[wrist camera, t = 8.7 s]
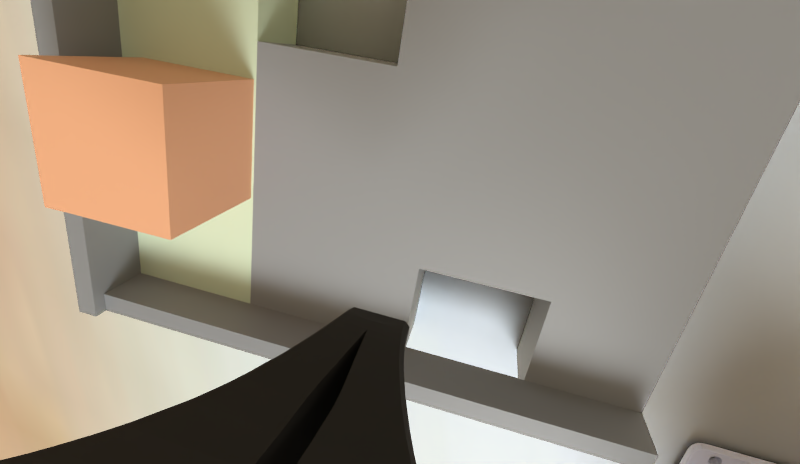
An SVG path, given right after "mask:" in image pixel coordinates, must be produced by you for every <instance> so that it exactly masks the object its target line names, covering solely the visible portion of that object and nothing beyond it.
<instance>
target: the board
mask: <svg viewBox="0 0 800 464" xmlns="http://www.w3.org/2000/svg"><path fill="white" fill-rule="evenodd" d="M298 2H299V0H31V7H32V13H33V19H34V26H35V32H36V39H37V45H38V51H39V55H45V56H94V57H143V58H148V59H153V60H158V61H163V62H169V63H174V64H179V65H184V66H189V67H194V68H199V69H204V70H209V71H214V72H219V73H225V74H230V75H235V76H240V77H245V78H250V79H254V97H253V137H252V176H251V198H250V199H248V200H246V201H244V202H242V203H241V204H239V205H237V206H235V207H233V208H231V209H229V210H227V211H225V212H223V213H221V214H220V215H218V216H216V217H214V218H212V219H210V220H208V221H206V222H204V223H202V224H200V225H199V226H197V227H195V228H193V229H191V230H189V231H187V232H185V233H183V234H181V235H179V236H178V237H176V238H174V239H172V240H169V239H165V238H161V237H157V236H154V235H150V234H146V233H142V232H138V231H135V230H131V229H127V228H123V227H119V226H116V225H112V224H108V223H104V222H101V221H97V220H93V219H89V218H85V217H82V216H78V215H74V214H70V213H66V212H64V216H65V222H66V229H67V235H68V241H69V248H70V254H71V260H72V267H73V273H74V279H75V286H76V292H77V298H78V305H79V311H80V312H83V313H86V314H90V315H93V316H98V315H99V314H101V313H102V312H104V311H106V310H107V311H111V312H114V313H117V314H121V315H124V316H128V317H131V318H134V319H138V320H141V321H144V322H148V323H151V324H154V325H158V326H161V327H164V328H168V329H171V330H174V331H178V332H181V333H185V334H188V335H191V336H195V337H198V338H201V339H205V340H208V341H211V342H215V343H218V344H221V345H225V346H228V347H232V348H235V349H238V350H242V351H245V352H248V353H252V354H255V355H258V356H262V357H265V358H268V359H273V358H275V357H277V356H279V355H280V354H282V353H284V352H285V351H287V350H289V349H290V348H292V347H293V346H295V345H297V344H298V343H300V342H301V341H303V340H304V339H306V338H308V337H309V336H311V335H312V334H314V333H315V332H317V331H318V330H320V329H321V328H323V327H324V326H326V325H327V324H329V323H330V322H332V321H333V320H334V319H336V318H337V317H339V316H340V315H342V314H343V313H345V312H346V311H347V310H349V309H351V308H353V307H356V308H360V309H364V310H367V311H371V312H374V313H378V314H381V315H385V316H388V317H392V318H396V319H399V320H403V321H406V322H407V324H408V326H409V327H410V328H409V332H408V337H407V342H408V339H409V336H410V333H411V330H412V328H413V325H414V321H415V316H416V311H417V307H418V302H419V297H420V292H421V287H422V283H423V278H424V273H425V270H426V271H430V272H434V273H438V274H442V275H446V276H450V277H454V278H458V279H462V280H466V281H470V282H474V283H478V284H482V285H486V286H490V287H494V288H498V289H502V290H506V291H509V292H513V293H517V294H521V295H525V296H529V297H533V298H534V301H533V304H532V307H531V310H530V313H529V316H528V319H527V322H526V325H525V328H524V331H523V334H522V337H521V340H520V343H519V346H518V349H517V365H518V378H515V377H511V376H507V375H504V374H500V373H497V372H493V371H490V370H486V369H482V368H479V367H475V366H472V365H468V364H465V363H461V362H457V361H454V360H450V359H447V358H443V357H440V356H436V355H432V354H429V353H425V352H422V351H418V350H414V349H411V348H407V347H405V351H404V380H405V396H406V400H409V401H413V402H416V403H419V404H423V405H426V406H429V407H433V408H436V409H440V410H443V411H446V412H450V413H453V414H456V415H460V416H463V417H466V418H470V419H473V420H476V421H480V422H483V423H487V424H490V425H493V426H497V427H500V428H503V429H507V430H510V431H513V432H517V433H520V434H523V435H527V436H530V437H534V438H537V439H540V440H544V441H547V442H550V443H554V444H557V445H560V446H564V447H567V448H570V449H574V450H577V451H580V452H584V453H587V454H591V455H594V456H597V457H601V458H604V459H607V460H611V461H614V462H617V463H621V464H654V463H655V461H656V459H657V457H658V454H657V451H656V449H655V446H654V443H653V441H652V438H651V436H650V433H649V431H648V428H647V426H646V423H645V420H644V418H643V415H642V411H643V409H644V407H645V405H646V403H647V401H648V399H649V397H650V395H651V393H652V392H653V390H654V388H655V386H656V384H657V382H658V380H659V378H660V376H661V374H662V372H663V370H664V368H665V366H666V364H667V362H668V360H669V358H670V356H671V354H672V352H673V350H674V348H675V346H676V344H677V342H678V340H679V338H680V336H681V334H682V332H683V330H684V328H685V326H686V324H687V322H688V320H689V319H690V317H691V315H692V313H693V311H694V309H695V307H696V305H697V303H698V301H699V299H700V297H701V295H702V293H703V291H704V289H705V287H706V285H707V283H708V281H709V279H710V277H711V275H712V273H713V271H714V269H715V267H716V265H717V263H718V261H719V259H720V257H721V255H722V253H723V251H724V249H725V247H726V246H727V244H728V242H729V240H730V238H731V236H732V234H733V232H734V230H735V228H736V226H737V224H738V222H739V220H740V218H741V216H742V214H743V212H744V210H745V208H746V206H747V204H748V202H749V200H750V198H751V196H752V194H753V192H754V190H755V188H756V186H757V184H758V182H759V180H760V178H761V176H762V174H763V173H764V171H765V169H766V167H767V165H768V163H769V161H770V159H771V157H772V155H773V153H774V151H775V149H776V147H777V145H778V143H779V141H780V139H781V137H782V135H783V133H784V131H785V129H786V127H787V125H788V123H789V121H790V119H791V117H792V115H793V113H794V111H795V109H796V107H797V105H798V103H799V101H800V0H407V4H406V11H405V18H404V25H403V31H402V38H401V45H400V52H399V59H398V63H394V62H388V61H383V60H377V59H372V58H366V57H361V56H355V55H350V54H344V53H338V52H333V51H327V50H322V49H316V48H311V47H305V46H300V45H296V36H297V19H298ZM407 342H406V345H407Z"/></svg>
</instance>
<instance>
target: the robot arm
mask: <svg viewBox="0 0 800 464" xmlns="http://www.w3.org/2000/svg"><path fill="white" fill-rule="evenodd" d="M409 328H410V327H409V326H408V324H407V322H406V321H403V320H399V319H396V318H392V317H388V316H385V315H381V314H378V313H374V312H371V311H367V310H364V309H360V308H356V307H353V308H351V309H349V310H347V311H346V312H345V313H343V314H342V315H340V316H339V317H337V318H336V319H334V320H333V321H332V322H330V323H329V324H327V325H326V326H324V327H323V328H321V329H320V330H318V331H317V332H315V333H314V334H312V335H311V336H309V337H308V338H306V339H304V340H303V341H301V342H300V343H298V344H297V345H295V346H293V347H292V348H290V349H289V350H287V351H285V352H284V353H282V354H280V355H279V356H277V357H275V358H273V359H271V360H270V361H268V362H266V363H264V364H263V365H261V366H259V367H257V368H255V369H254V370H252V371H250V372H248V373H246V374H244V375H242V376H240V377H238V378H237V379H235V380H233V381H231V382H229V383H226V384H224V385H222V386H220V387H218V388H216V389H214V390H211V391H209V392H207V393H205V394H203V395H200V396H198V397H196V398H193V399H191V400H189V401H186V402H183V403H181V404H178V405H175V406H173V407H170V408H167V409H165V410H162V411H160V412H157V413H154V414H152V415H149V416H146V417H144V418H141V419H138V420H136V421H133V422H130V423H127V424H124V425H122V426H118V427H115V428H112V429H109V430H106V431H103V432H100V433H97V434H94V435H91V436H87V437H84V438H81V439H77V440H74V441H70V442H67V443H64V444H60V445H57V446H54V447H50V448H46V449H43V450H39V451H36V452H32V453H28V454H24V455H20V456H16V457H12V458H8V459H4V460H0V464H416V461H415V456H414V451H413V446H412V441H411V435H410V428H409V421H408V414H407V406H406V396H405V380H404V351H405V347H406V342H407V337H408V332H409ZM714 456H715V458H711V457H714ZM679 464H775V463H772V462H768V461H765V460H761V459H758V458H754V457H751V456H747V455H744V454H740V453H737V452H733V451H730V450H726V449H723V448H719V447H715V446H712V445H708V444H705V443H695V444H692V445H691V446H690V447H689V448H688V449H687V451H686V453H685V454H684V456H683V458H682V460H681V461H680V463H679Z"/></svg>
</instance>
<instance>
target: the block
mask: <svg viewBox="0 0 800 464" xmlns="http://www.w3.org/2000/svg"><path fill="white" fill-rule="evenodd" d="M18 56H19V62H20V67H21V73H22V79H23V85H24V90H25V96H26V102H27V107H28V113H29V119H30V124H31V130H32V136H33V142H34V147H35V153H36V159H37V164H38V170H39V176H40V182H41V187H42V193H43V199H44V204H45V207H48V208H51V209H55V210H59V211H63V212H66V213H70V214H74V215H78V216H82V217H85V218H89V219H93V220H97V221H101V222H104V223H108V224H112V225H116V226H119V227H123V228H127V229H131V230H135V231H138V232H142V233H146V234H150V235H154V236H157V237H161V238H165V239H169V240H172V239H174V238H176V237H178V236H179V235H181V234H183V233H185V232H187V231H189V230H191V229H193V228H195V227H197V226H199V225H200V224H202V223H204V222H206V221H208V220H210V219H212V218H214V217H216V216H218V215H220V214H221V213H223V212H225V211H227V210H229V209H231V208H233V207H235V206H237V205H239V204H241V203H242V202H244V201H246V200H248V199H250V198H251V176H252V137H253V97H254V79H250V78H245V77H240V76H235V75H230V74H225V73H219V72H214V71H209V70H204V69H199V68H194V67H189V66H184V65H179V64H174V63H169V62H163V61H158V60H153V59H148V58H143V57H94V56H45V55H18Z"/></svg>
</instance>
